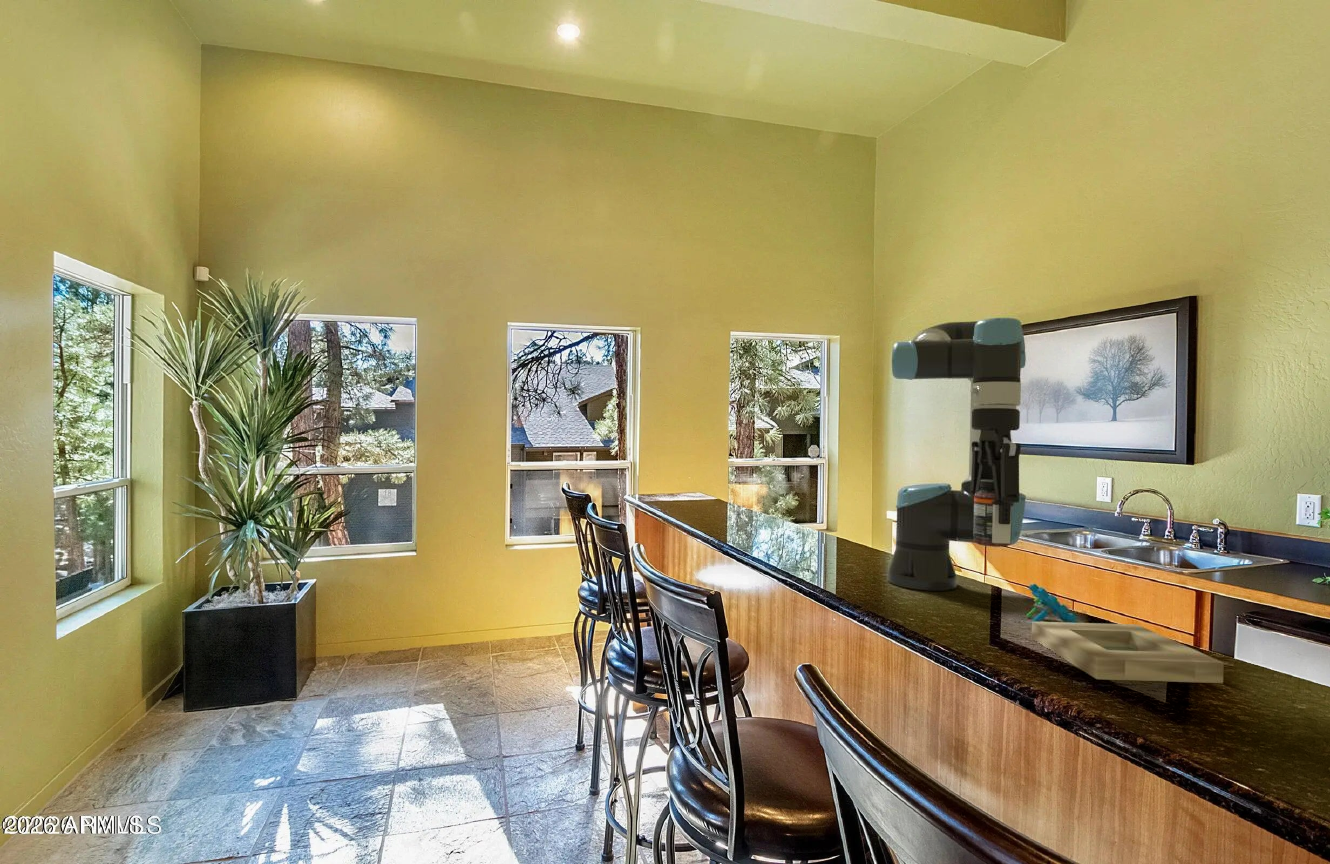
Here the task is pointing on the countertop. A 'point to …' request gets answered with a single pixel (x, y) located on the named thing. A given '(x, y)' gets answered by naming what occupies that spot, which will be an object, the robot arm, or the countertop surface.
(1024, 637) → the countertop surface
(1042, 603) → the gear
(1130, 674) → the socket holder
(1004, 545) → the supplement bottle
